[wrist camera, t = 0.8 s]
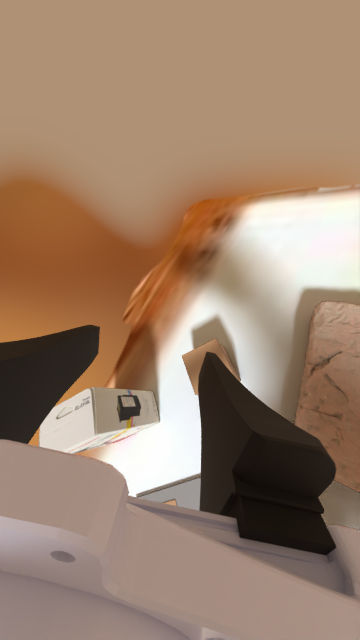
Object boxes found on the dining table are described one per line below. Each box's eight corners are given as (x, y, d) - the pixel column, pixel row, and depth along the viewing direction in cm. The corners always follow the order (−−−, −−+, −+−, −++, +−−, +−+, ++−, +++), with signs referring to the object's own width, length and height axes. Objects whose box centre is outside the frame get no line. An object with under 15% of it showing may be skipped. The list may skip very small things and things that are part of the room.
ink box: (116, 442, 28) (32, 467, 18) (112, 410, 30) (37, 415, 20) (161, 422, 26) (94, 438, 16) (153, 389, 28) (91, 385, 18)
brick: (309, 312, 23) (317, 294, 19) (405, 323, 19) (441, 304, 15) (286, 448, 19) (290, 462, 15) (400, 502, 15) (447, 540, 11)
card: (227, 564, 17) (227, 567, 17) (147, 579, 20) (145, 582, 19) (201, 476, 21) (200, 478, 21) (136, 497, 23) (134, 499, 23)
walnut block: (241, 380, 23) (234, 377, 19) (208, 395, 24) (195, 394, 20) (224, 347, 26) (215, 338, 22) (195, 362, 27) (181, 355, 23)
